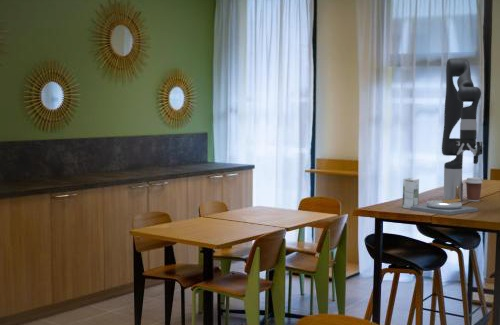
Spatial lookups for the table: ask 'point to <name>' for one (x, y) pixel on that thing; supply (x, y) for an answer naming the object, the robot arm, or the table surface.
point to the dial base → (444, 210)
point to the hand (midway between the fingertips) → (467, 163)
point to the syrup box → (410, 192)
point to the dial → (447, 202)
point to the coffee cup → (473, 188)
